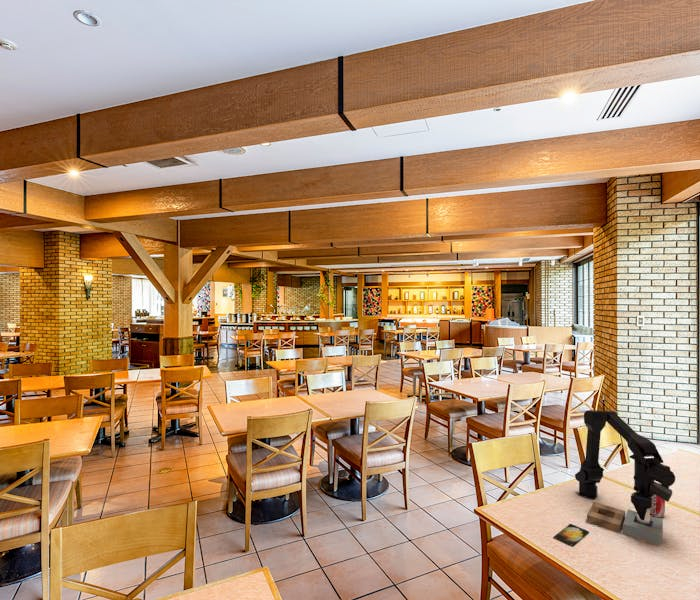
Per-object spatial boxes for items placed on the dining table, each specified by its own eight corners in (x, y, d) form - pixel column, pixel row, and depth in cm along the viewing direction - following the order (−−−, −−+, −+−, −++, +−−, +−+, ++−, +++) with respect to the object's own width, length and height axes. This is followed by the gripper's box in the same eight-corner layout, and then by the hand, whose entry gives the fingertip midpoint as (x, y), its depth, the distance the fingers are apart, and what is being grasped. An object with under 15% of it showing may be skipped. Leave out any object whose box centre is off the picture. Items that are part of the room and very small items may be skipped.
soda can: (668, 519, 158) (668, 490, 159) (649, 517, 160) (649, 488, 160) (658, 510, 165) (658, 482, 165) (639, 508, 167) (639, 480, 167)
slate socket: (623, 534, 148) (623, 523, 148) (628, 519, 159) (628, 509, 159) (660, 546, 141) (660, 535, 141) (662, 529, 151) (662, 519, 151)
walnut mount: (586, 522, 156) (586, 514, 156) (593, 508, 167) (593, 501, 167) (620, 533, 149) (620, 525, 149) (625, 518, 159) (625, 510, 159)
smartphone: (552, 537, 146) (570, 523, 155) (552, 539, 146) (570, 525, 155) (572, 547, 140) (590, 531, 149) (572, 549, 140) (590, 533, 149)
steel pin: (636, 532, 150) (636, 508, 150) (637, 527, 153) (637, 504, 153) (649, 536, 147) (649, 512, 147) (650, 531, 150) (650, 508, 150)
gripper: (669, 489, 138) (669, 534, 137) (671, 472, 151) (671, 513, 151) (630, 479, 145) (630, 522, 145) (636, 464, 159) (636, 503, 159)
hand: (643, 515), depth 150 cm, fingers open, 9 cm apart
